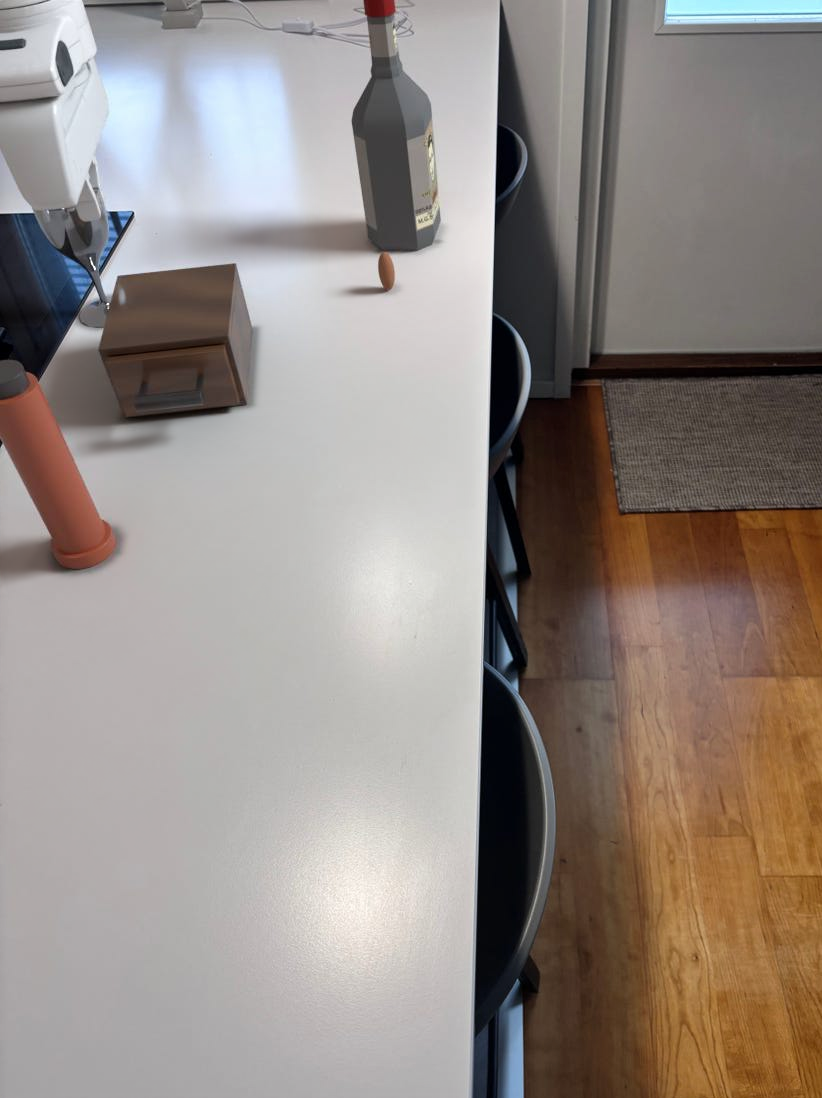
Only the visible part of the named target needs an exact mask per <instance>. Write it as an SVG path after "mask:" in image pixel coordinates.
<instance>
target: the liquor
mask: <svg viewBox="0 0 822 1098" xmlns="http://www.w3.org/2000/svg"><path fill="white" fill-rule="evenodd" d="M363 9H364V10H363V11H364V15H365V16H366V21H367V31H368V40H369V49H370V58H371V67H370V75H371V76H370V78H369V80H368V82H367V84H366V86H365V88H364V90H363V92H362V93H361V95H360V97H359V99H358V101H357V102H356V104H355V106H354V108H353V110H352V114H351V115H352V116H351V127H352V128H351V129H352V135H353V142H354V149H355V155H356V156H355V157H356V163H357V169H358V176H359V184H360V189H361V190H360V192H361V197H362V202H363V204H362V205H363V212H364V219H365V225H366V233H367V238H368V240H369V241H370V242H371V243H372V245H374V246H375V247H377V248H378V249H380V250H381V251H409V252H410V251H411V252H412V251H414V252H417V251H420V250H423V249H426V248H428V247H429V246H433V243H434V241H435V238H436V236H437V233H438V230H439V227H440V224H441V221H442V219H441V206H440V196H439V184H438V171H437V159H436V158H437V157H436V148H435V137H434V136H435V133H434V124H433V122H434V121H433V112H432V103H431V100H430V97H429V96H428V94H427V93H426V91H424V90H423V89H422V88H421V86H419V85H418V83H416V82H415V81H414V80H413V79H412V77H410V75H408V74H407V73H406V72H405V71H404V70H403V62H402V61H401V59H400V52H399V44H398V36H397V35H398V34H397V25H396V18H395V13H396V12H397V10H396V2H395V0H363Z"/></svg>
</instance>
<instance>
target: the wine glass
mask: <svg viewBox="0 0 822 1098" xmlns="http://www.w3.org/2000/svg"><path fill="white" fill-rule="evenodd" d="M31 209H32V212H33V214H34V216H35V219H36V221H37V223H38V225H39V227H40V229H41V231H42V233H43V234H44V236H45V237H46V239H47V240H48V242H49V243H50V245H51V246H52V247H53V248H54V250H56V251H57V252H58V253H60V254H61V255H62V256H64V257H66V258H67V259H69V260H71V261H73V262H74V263H76V264H78V265H79V266H80V267H81V268H82V269H84V271H85V272H86V273H87V275H88V277H89V278H90V280H91V282H92V284H93V285H94V288H95V290H96V293H97V295H98V298H99V299H98V300H96V301H93V302H91V303H89V304H88V305H86V306H85V307H84V308H83V309H82V310H81V311H80V313H79V320H80V322H81V323H82V324H83V325H86V326H88V327H92V328H104V325H105V322H106V318H107V314H108V310H109V307H110V303H111V299H112V296H111V297H107V296H106V293H105V291H104V288H103V285H102V281H101V275H100V272H99V268H100V267H99V265H100V262H101V257H102V255H103V253H104V251H105V249H106V247H107V245H108V241H109V238H110V226H109V225H110V224H109V217H108V213H107V208H106V205H105V204H104V207H103V210H102V213H101V217H100V219H99V220H97V221H88V222H85V221H82V220H81V219H80V218H79V215H78V212H77V210H76V207H75V206H74V207H70V208H63V209H54V210H35V209H33V208H32V207H31Z"/></svg>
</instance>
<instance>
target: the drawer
mask: <svg viewBox="0 0 822 1098" xmlns="http://www.w3.org/2000/svg"><path fill="white" fill-rule="evenodd" d="M105 364H106V367H107V369H108V372H109V374H110V377H111V379H112V382H113V385H114V387H115V390H116V392H117V395H118V397H119V400H120V402H121V405H122V408H123V410H124V413H125V415H126V417H130V416H139V415H148V414H157V413H166V412H175V411H184V410H193V409H202V408H211V407H220V406H229V405H238V404H239V401H240V397H239V394H238V390H237V387H236V383H235V380H234V376H233V372H232V369H231V365H230V362H229V358H228V355H227V351H226V348H225V345H222V344H212V345H203V346H194V347H185V348H176V349H167V350H158V351H148V352H139V353H130V354H121V355H118V356H114V357H107V358H106V362H105ZM238 406H239V405H238ZM229 407H230V406H229ZM220 408H221V407H220ZM211 409H212V408H211ZM202 410H203V409H202ZM193 411H194V410H193ZM184 412H185V411H184ZM175 413H176V412H175ZM166 414H167V413H166ZM157 415H158V414H157ZM148 416H149V415H148ZM139 417H140V416H139ZM130 418H131V417H130Z"/></svg>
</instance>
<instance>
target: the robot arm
mask: <svg viewBox="0 0 822 1098" xmlns="http://www.w3.org/2000/svg"><path fill="white" fill-rule="evenodd" d="M97 51H98V47H97V43H96V40H95V36H94V34H93V31H92V27H91V24H90V21H89V17H88V14H87V11H86V7H85V3H84V2H83V0H0V152H1V154H2V157H3V159H4V162H5V163H6V166H7V167H8V170H9V172H10V174H11V176H12V178H13V180H14V183H15V184H16V186H17V189H18V190H19V193H20V194H21V197H22V198H23V199H24V200H25V202H26V203H27V204H28V205H29V206H30V207H31V209H32V208H33V209H35V210H54V209H63V208H70V207H74V206H75V207H76V210H77V212H78V215H79V218H80V219H81V220H82V221H85V222H88V221H97V220H99V219H100V217H101V213H102V210H103V207H104V205H105V204H106V200H105V196H104V194H103V190H102V187H101V185H100V184H101V181H100V174H99V168H98V160H97V157H96V151H97V148H98V145H99V142H100V139H101V136H102V134H103V131H104V128H105V125H106V122H107V119H108V117H109V114H110V107H109V106H110V105H109V99H108V96H107V92H106V88H105V86H104V82H103V79H102V77H101V74H100V71H99V68H98V65H97V63H96V60H95V56H96V54H97ZM33 209H32V210H33Z"/></svg>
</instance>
